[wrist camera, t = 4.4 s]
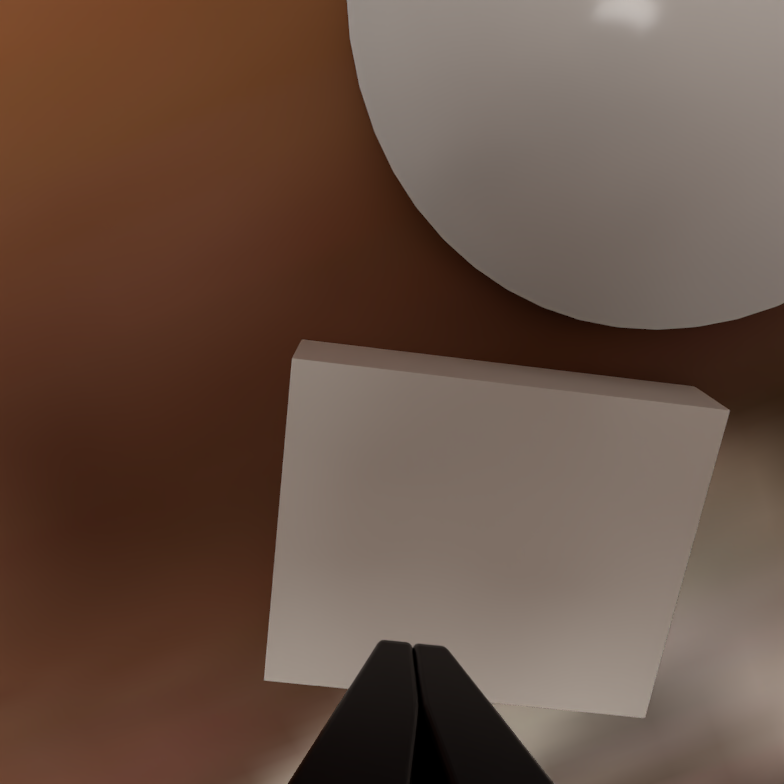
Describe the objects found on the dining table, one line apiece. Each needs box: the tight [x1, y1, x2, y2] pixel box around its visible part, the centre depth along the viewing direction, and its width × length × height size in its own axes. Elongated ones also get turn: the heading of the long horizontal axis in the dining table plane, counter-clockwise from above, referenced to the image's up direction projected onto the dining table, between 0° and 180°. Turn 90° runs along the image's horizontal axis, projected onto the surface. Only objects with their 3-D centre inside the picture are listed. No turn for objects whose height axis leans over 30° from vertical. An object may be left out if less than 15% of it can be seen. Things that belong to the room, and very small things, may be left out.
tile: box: [264, 339, 730, 718], centre depth 13 cm, size 6×2×7 cm
